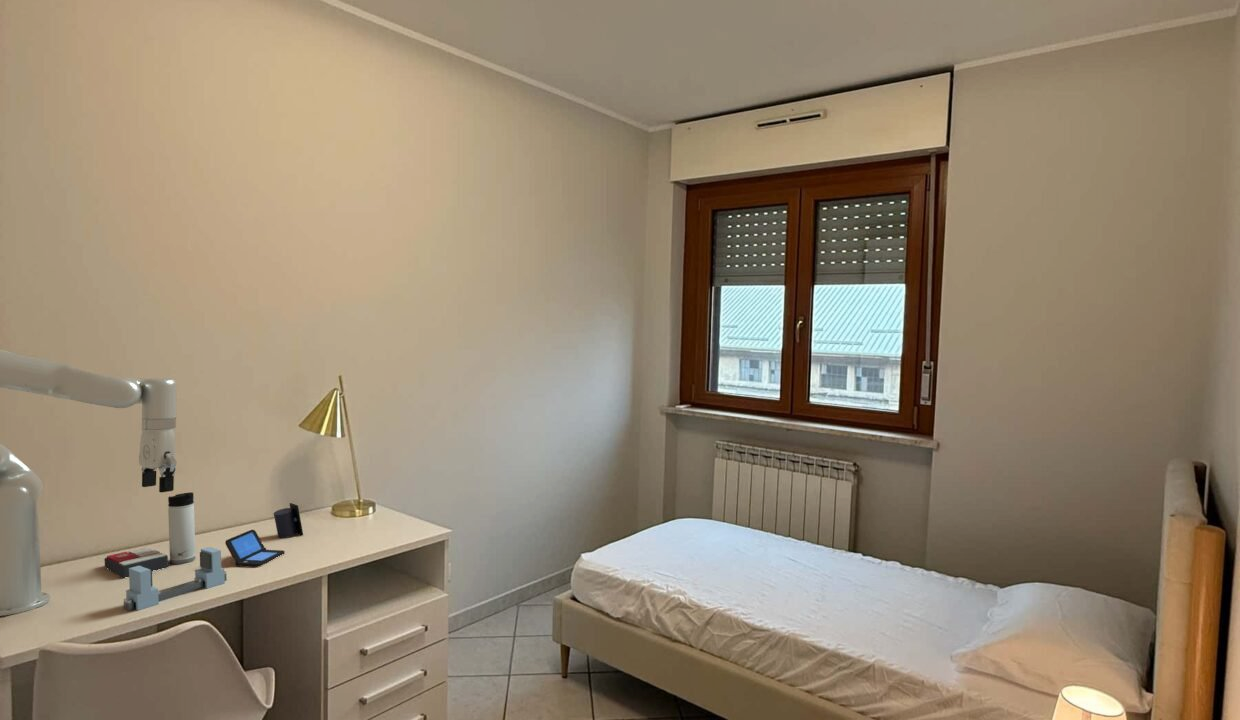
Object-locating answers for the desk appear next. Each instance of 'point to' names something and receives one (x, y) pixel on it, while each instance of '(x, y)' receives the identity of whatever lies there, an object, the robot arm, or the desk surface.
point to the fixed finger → (142, 588)
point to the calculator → (136, 561)
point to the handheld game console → (250, 550)
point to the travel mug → (181, 528)
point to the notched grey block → (210, 567)
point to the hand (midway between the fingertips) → (157, 488)
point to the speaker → (288, 521)
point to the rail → (172, 592)
